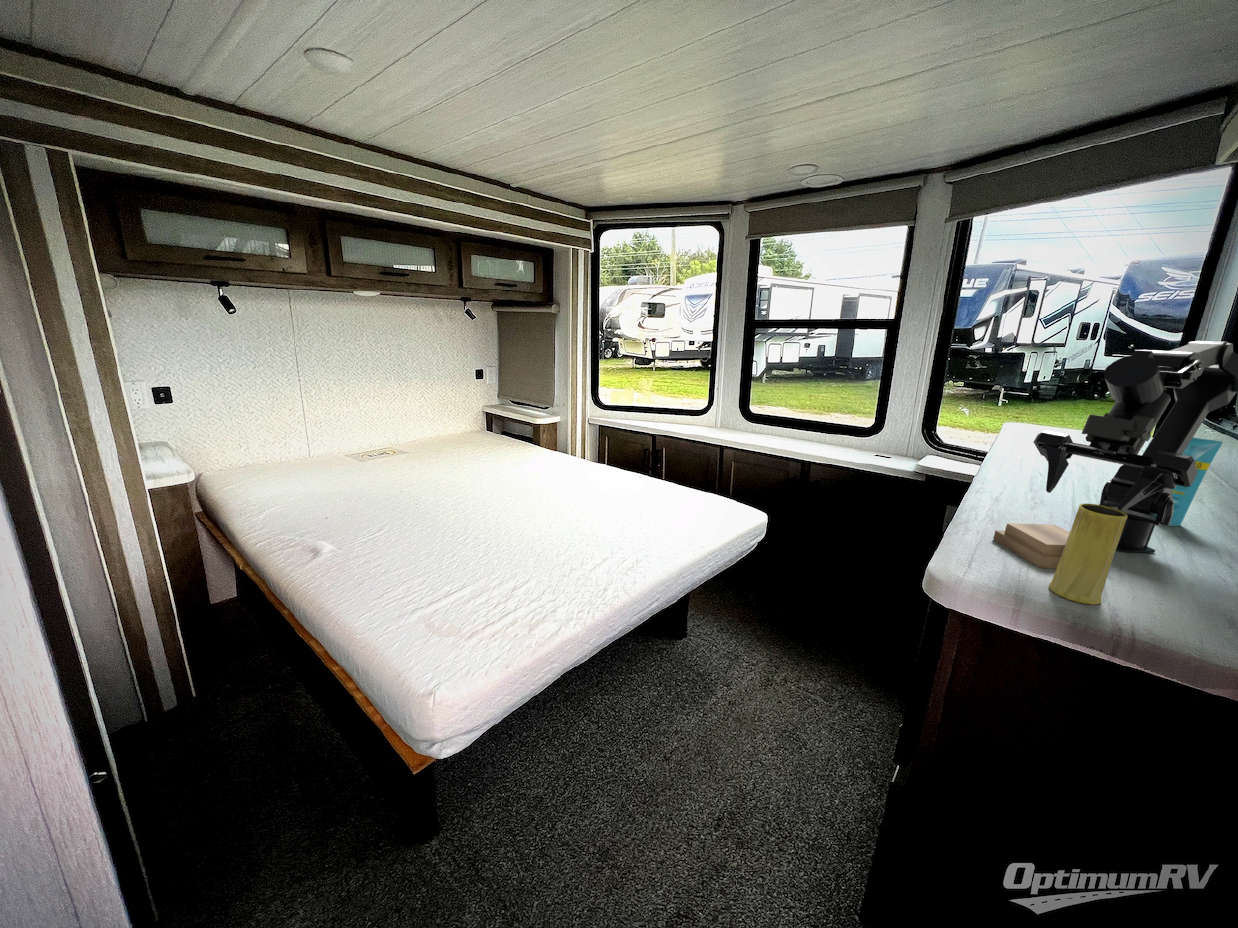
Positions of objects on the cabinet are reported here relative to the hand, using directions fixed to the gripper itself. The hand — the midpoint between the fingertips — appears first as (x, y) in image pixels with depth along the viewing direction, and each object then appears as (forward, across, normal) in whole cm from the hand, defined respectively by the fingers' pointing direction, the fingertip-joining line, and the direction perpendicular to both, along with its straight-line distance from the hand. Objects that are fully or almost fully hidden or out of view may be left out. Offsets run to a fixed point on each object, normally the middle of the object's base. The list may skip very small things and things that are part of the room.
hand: (1081, 500), depth 78 cm
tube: (-17, -1, +49) cm, 52 cm away
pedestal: (+8, -4, +12) cm, 15 cm away
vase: (+15, +5, +2) cm, 16 cm away
